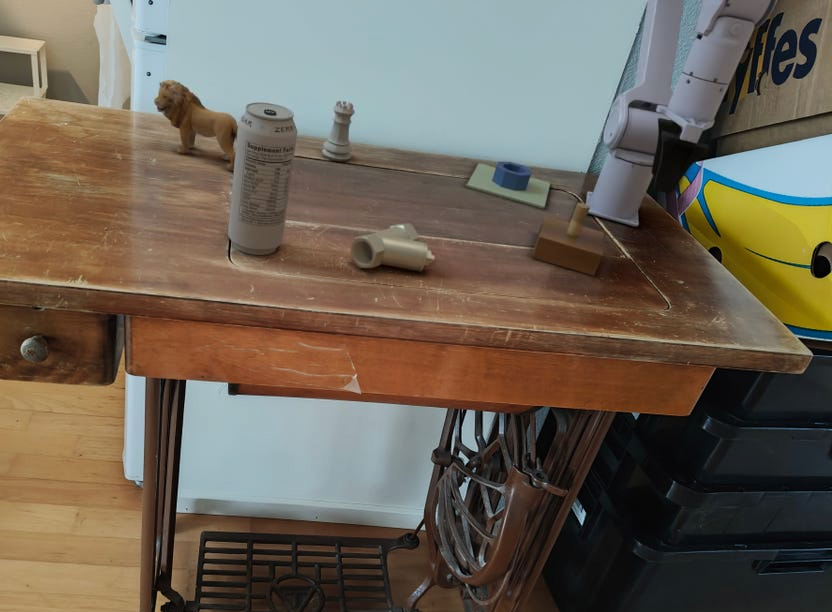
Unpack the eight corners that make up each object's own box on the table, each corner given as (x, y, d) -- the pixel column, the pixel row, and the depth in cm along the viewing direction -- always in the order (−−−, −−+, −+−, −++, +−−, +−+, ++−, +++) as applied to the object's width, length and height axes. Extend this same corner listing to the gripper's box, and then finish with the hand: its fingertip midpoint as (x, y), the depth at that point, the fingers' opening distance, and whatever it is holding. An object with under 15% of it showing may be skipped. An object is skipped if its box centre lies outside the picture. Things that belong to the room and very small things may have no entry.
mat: (478, 165, 119) (478, 162, 119) (549, 185, 118) (550, 182, 117) (466, 187, 110) (466, 184, 109) (543, 209, 108) (544, 206, 108)
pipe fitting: (434, 273, 85) (391, 245, 87) (444, 244, 82) (400, 216, 85) (392, 290, 79) (347, 260, 82) (401, 260, 77) (356, 230, 80)
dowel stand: (537, 235, 99) (554, 186, 95) (595, 252, 98) (615, 204, 94) (531, 257, 92) (550, 206, 88) (594, 276, 91) (615, 225, 87)
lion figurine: (146, 147, 99) (148, 80, 94) (166, 138, 104) (168, 73, 99) (245, 176, 97) (252, 109, 92) (261, 165, 102) (268, 100, 97)
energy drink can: (279, 235, 84) (296, 105, 76) (283, 259, 80) (302, 123, 71) (226, 230, 83) (238, 97, 75) (227, 254, 78) (240, 115, 70)
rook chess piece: (347, 164, 108) (357, 110, 104) (318, 157, 108) (327, 103, 104) (352, 155, 112) (362, 103, 108) (324, 148, 112) (332, 96, 108)
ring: (495, 173, 116) (499, 158, 115) (528, 183, 115) (533, 168, 114) (490, 183, 112) (495, 168, 110) (524, 193, 111) (529, 178, 109)
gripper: (668, 61, 96) (629, 161, 103) (676, 78, 84) (631, 190, 91) (723, 75, 95) (679, 175, 102) (739, 93, 83) (688, 205, 90)
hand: (660, 183), depth 97 cm, fingers open, 7 cm apart
